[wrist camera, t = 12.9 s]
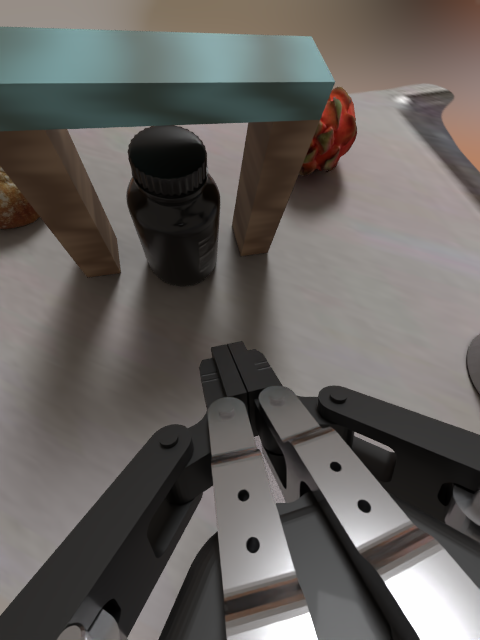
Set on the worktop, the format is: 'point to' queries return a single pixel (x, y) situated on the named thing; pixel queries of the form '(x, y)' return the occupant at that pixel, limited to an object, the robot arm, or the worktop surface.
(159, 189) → the supplement bottle
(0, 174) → the bread roll
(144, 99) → the gate
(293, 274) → the worktop surface
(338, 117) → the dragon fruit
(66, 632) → the robot arm
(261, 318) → the worktop surface
